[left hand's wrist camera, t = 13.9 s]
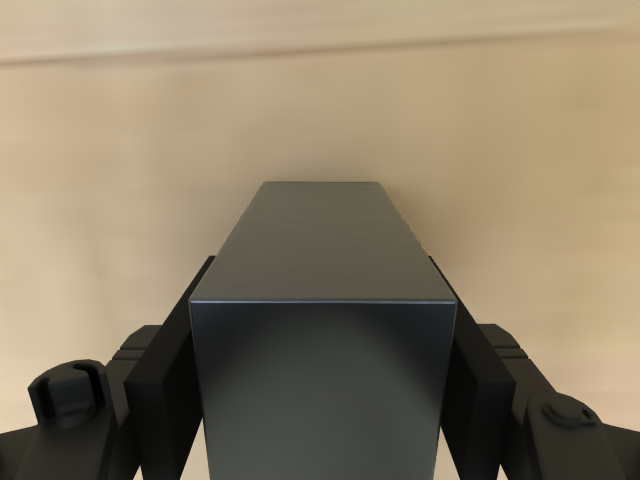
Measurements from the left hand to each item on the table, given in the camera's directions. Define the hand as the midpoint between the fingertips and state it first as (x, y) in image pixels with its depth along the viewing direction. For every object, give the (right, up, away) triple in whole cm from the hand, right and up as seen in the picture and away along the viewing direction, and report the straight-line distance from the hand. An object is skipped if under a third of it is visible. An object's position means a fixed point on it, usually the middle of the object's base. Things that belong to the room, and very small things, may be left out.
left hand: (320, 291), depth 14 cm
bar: (0, -12, +7) cm, 14 cm away
